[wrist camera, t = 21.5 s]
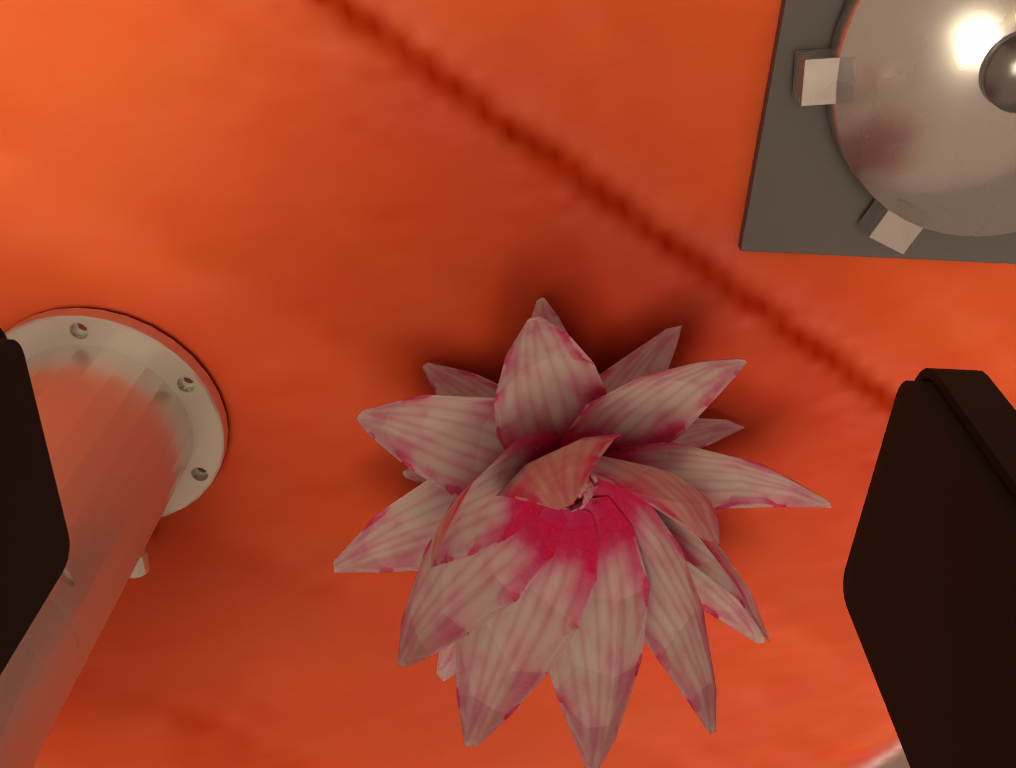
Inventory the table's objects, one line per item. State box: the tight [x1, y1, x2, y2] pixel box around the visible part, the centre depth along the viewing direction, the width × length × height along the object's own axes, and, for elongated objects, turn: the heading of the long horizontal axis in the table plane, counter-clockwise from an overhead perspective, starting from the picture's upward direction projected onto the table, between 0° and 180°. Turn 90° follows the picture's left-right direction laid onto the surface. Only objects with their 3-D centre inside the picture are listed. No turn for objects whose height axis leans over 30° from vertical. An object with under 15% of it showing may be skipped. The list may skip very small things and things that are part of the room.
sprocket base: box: [738, 0, 1016, 264], centre depth 40 cm, size 18×18×1 cm
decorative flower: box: [333, 297, 831, 768], centre depth 44 cm, size 21×21×15 cm
